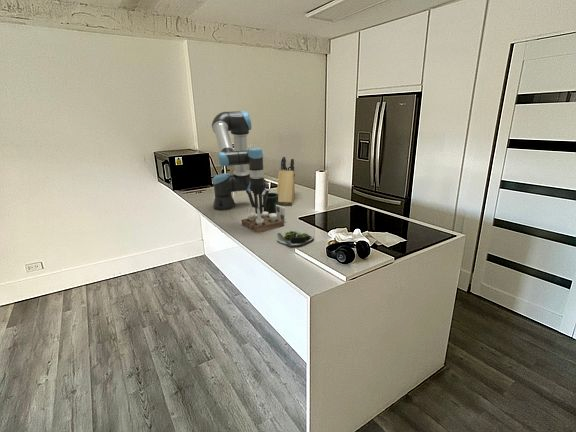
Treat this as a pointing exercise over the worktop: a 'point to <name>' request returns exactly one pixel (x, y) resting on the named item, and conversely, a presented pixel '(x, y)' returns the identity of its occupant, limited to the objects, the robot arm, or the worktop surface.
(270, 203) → the mug
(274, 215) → the button
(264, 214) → the button
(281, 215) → the card
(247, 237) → the worktop surface
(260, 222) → the button
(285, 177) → the knife block
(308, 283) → the worktop surface
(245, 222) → the board
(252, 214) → the button
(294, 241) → the salad plate
